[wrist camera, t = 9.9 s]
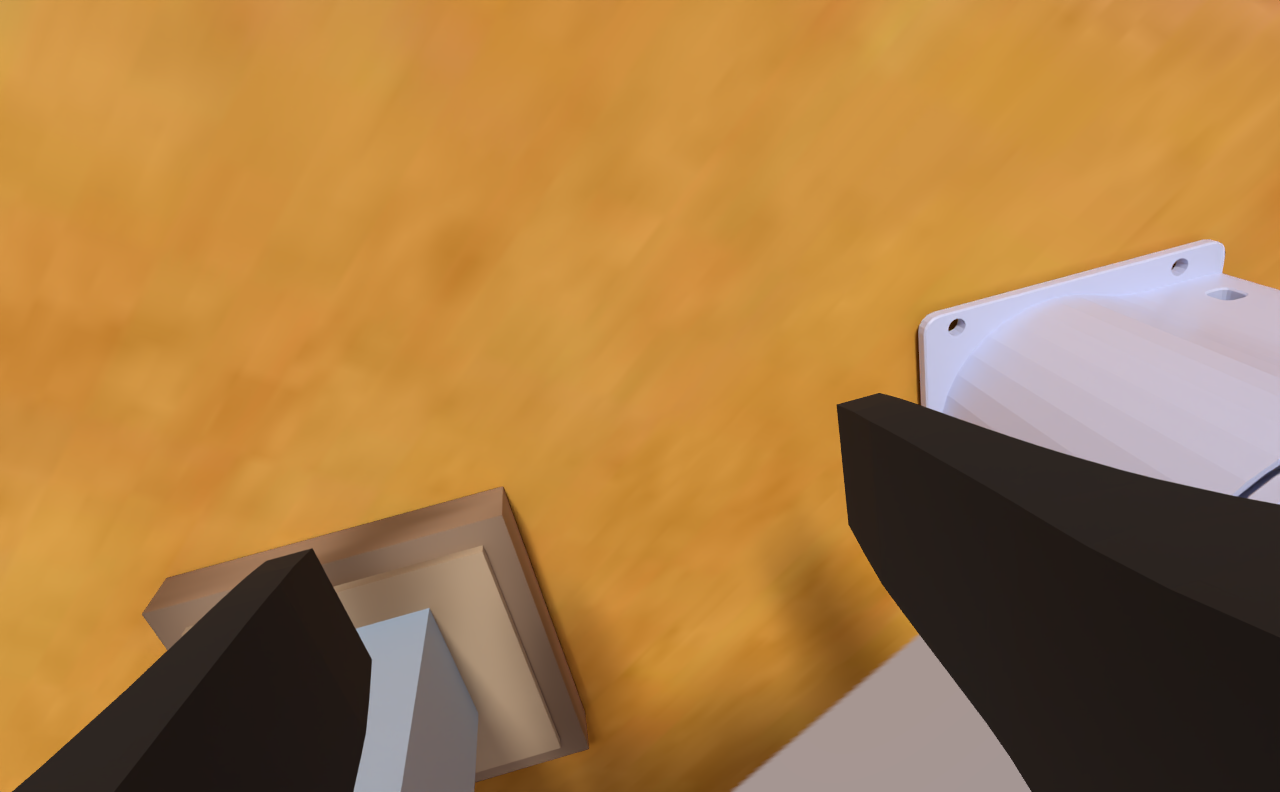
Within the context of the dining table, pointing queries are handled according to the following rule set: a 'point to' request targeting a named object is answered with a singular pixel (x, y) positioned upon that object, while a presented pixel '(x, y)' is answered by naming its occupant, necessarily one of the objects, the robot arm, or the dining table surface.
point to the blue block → (416, 711)
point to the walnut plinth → (437, 615)
